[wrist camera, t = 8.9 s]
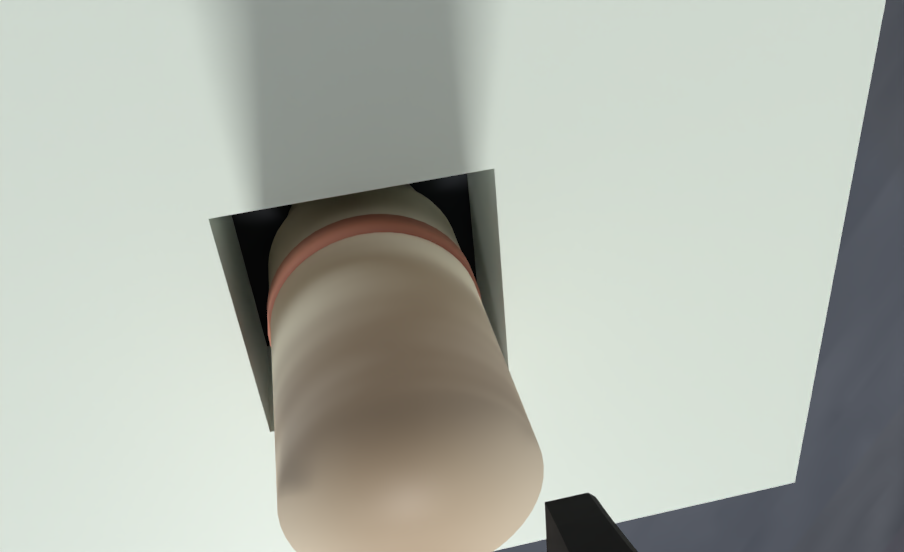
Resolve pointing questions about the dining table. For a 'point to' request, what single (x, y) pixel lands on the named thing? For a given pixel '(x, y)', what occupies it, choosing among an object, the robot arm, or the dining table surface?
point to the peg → (390, 385)
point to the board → (402, 162)
